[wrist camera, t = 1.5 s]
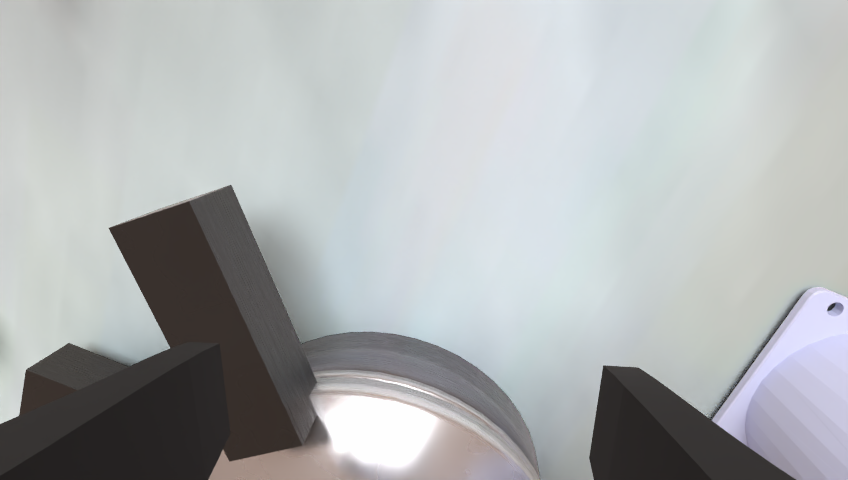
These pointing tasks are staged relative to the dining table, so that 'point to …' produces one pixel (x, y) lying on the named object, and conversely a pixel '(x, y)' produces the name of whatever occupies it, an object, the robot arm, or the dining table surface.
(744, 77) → the dining table surface
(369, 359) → the pot
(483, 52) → the dining table surface
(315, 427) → the pressure cooker lid
